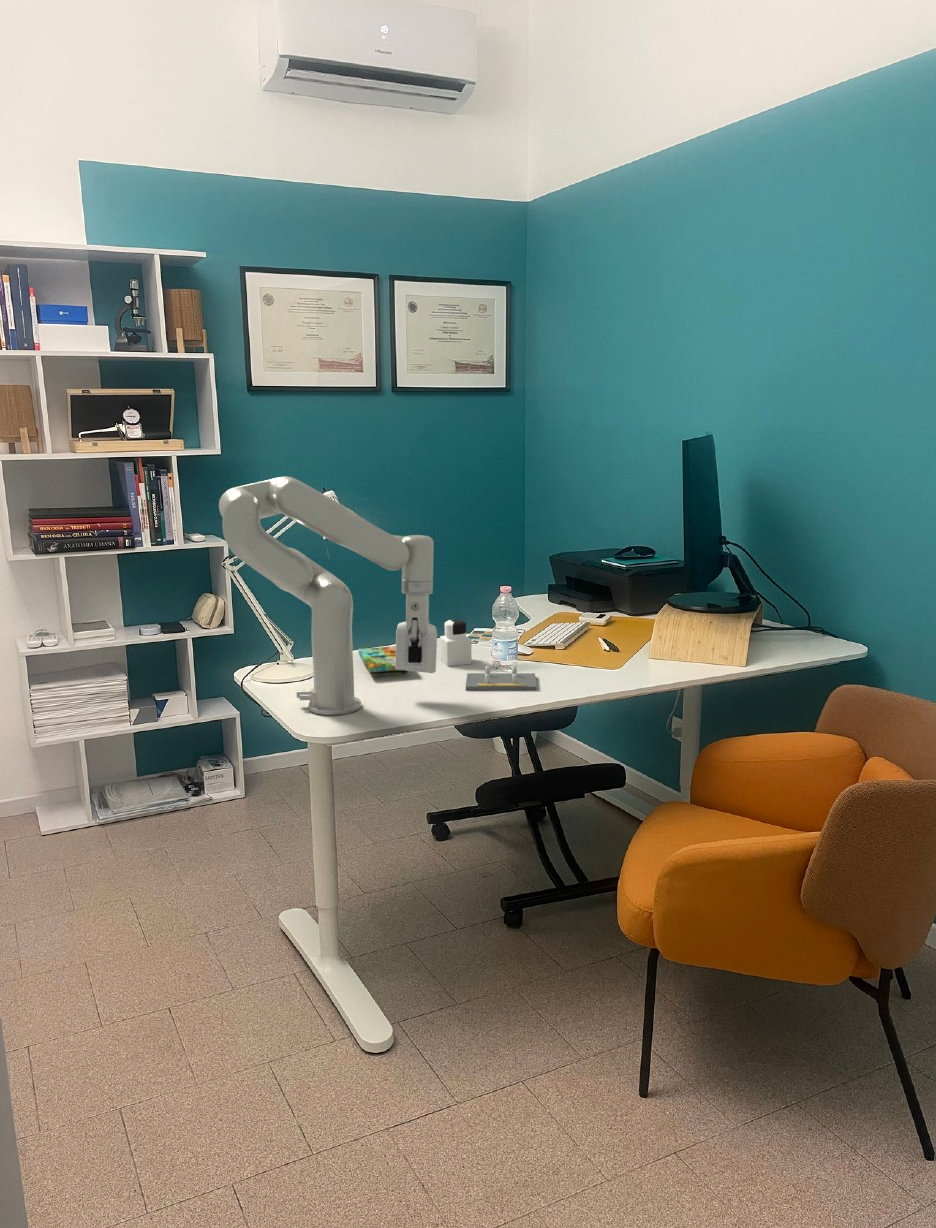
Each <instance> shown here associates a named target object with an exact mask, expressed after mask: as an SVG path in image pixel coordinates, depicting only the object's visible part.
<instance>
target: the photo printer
mask: <svg viewBox="0 0 936 1228" xmlns="http://www.w3.org/2000/svg"><path fill="white" fill-rule="evenodd" d="M409 630H410V629H409ZM395 633H396V634H395V646H396V658H395V669H396V670H406V671H408V672H416V673H417V672H418V673H425V674H426V673H429V674H433V673H436V671H437V651H438V650H437V647H438V632H437V626H435V625H433V624H431V623H430V622H429V623H428V626H427V634H426V635H424V634H421V647H422V661H421V663H409V662H408V646H409V635H408V634H407V631H406V621H402V622H399V623H398V624H397V627H396V631H395ZM417 634H419V632H417ZM417 638H419V637H417Z"/></svg>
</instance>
